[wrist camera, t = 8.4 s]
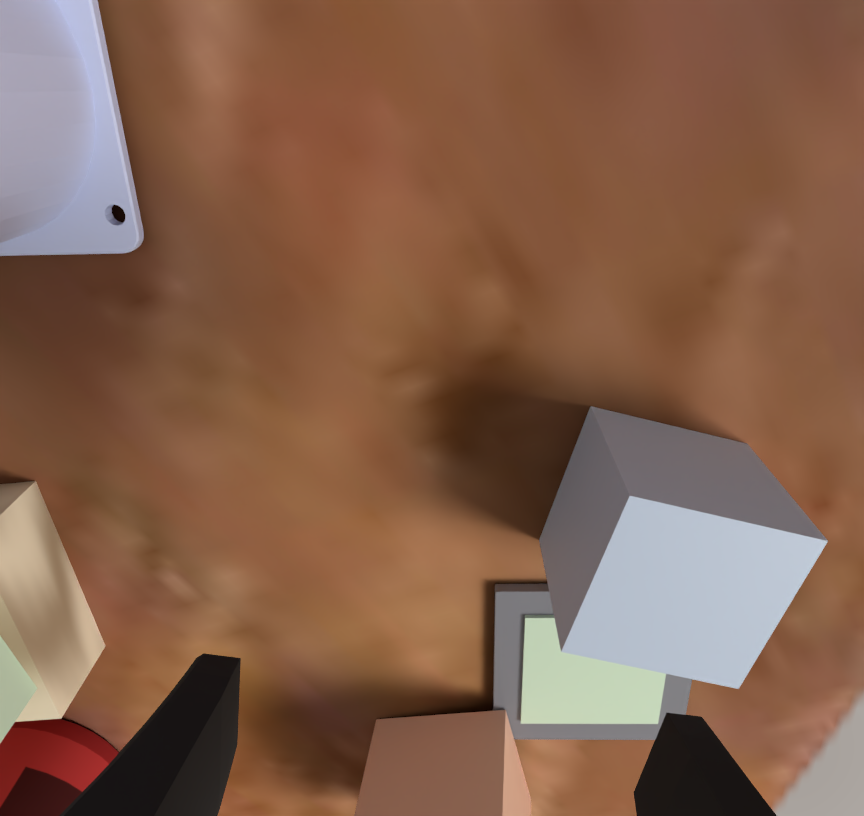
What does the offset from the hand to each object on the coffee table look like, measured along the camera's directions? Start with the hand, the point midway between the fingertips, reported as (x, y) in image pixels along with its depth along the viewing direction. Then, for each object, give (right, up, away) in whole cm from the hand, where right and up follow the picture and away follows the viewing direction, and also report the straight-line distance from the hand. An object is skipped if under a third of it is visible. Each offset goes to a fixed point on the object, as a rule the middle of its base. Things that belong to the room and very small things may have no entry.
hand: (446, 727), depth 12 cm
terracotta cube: (+1, -8, +15) cm, 17 cm away
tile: (+5, -4, +13) cm, 15 cm away
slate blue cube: (+6, +3, +10) cm, 12 cm away
